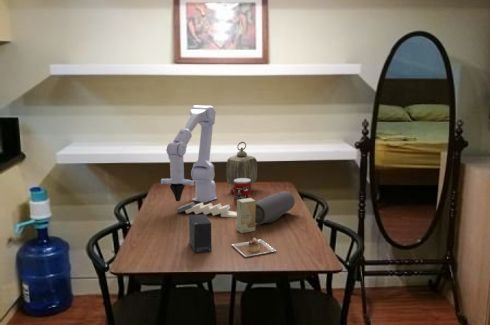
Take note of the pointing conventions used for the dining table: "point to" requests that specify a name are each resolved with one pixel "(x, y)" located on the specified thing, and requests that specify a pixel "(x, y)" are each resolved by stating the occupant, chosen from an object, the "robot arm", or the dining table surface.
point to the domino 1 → (185, 207)
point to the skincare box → (246, 215)
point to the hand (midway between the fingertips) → (178, 200)
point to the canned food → (242, 189)
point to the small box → (200, 233)
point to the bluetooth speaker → (273, 207)
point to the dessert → (254, 246)
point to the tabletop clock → (241, 167)
